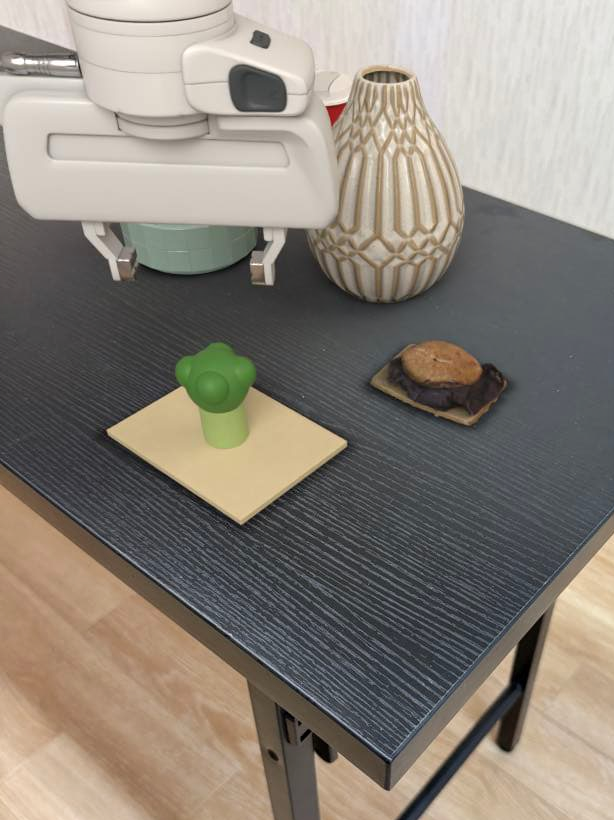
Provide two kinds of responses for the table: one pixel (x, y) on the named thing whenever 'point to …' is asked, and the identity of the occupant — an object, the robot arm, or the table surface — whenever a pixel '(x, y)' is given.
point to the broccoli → (218, 392)
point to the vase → (390, 193)
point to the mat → (229, 451)
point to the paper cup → (332, 91)
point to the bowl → (188, 246)
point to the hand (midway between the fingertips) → (195, 279)
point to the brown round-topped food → (441, 381)
